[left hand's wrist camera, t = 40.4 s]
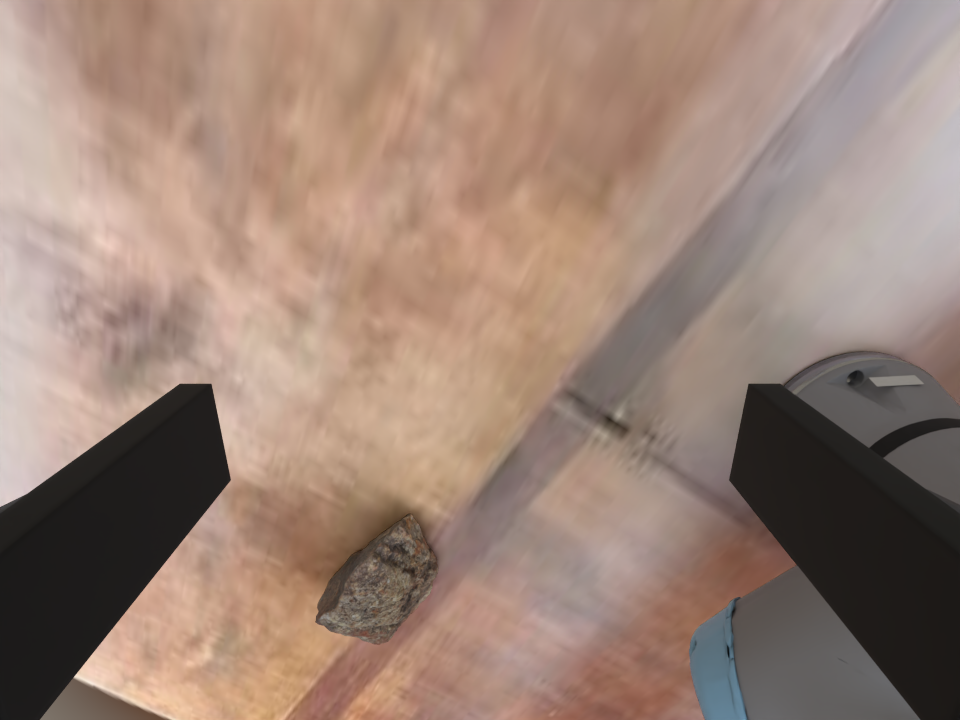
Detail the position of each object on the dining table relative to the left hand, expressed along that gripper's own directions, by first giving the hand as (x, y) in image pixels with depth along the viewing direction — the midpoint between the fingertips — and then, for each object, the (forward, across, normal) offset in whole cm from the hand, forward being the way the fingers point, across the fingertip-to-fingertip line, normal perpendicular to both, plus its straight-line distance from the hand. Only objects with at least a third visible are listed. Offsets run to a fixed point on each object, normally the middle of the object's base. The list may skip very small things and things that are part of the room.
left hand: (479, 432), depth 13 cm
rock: (+29, +9, +30) cm, 43 cm away
